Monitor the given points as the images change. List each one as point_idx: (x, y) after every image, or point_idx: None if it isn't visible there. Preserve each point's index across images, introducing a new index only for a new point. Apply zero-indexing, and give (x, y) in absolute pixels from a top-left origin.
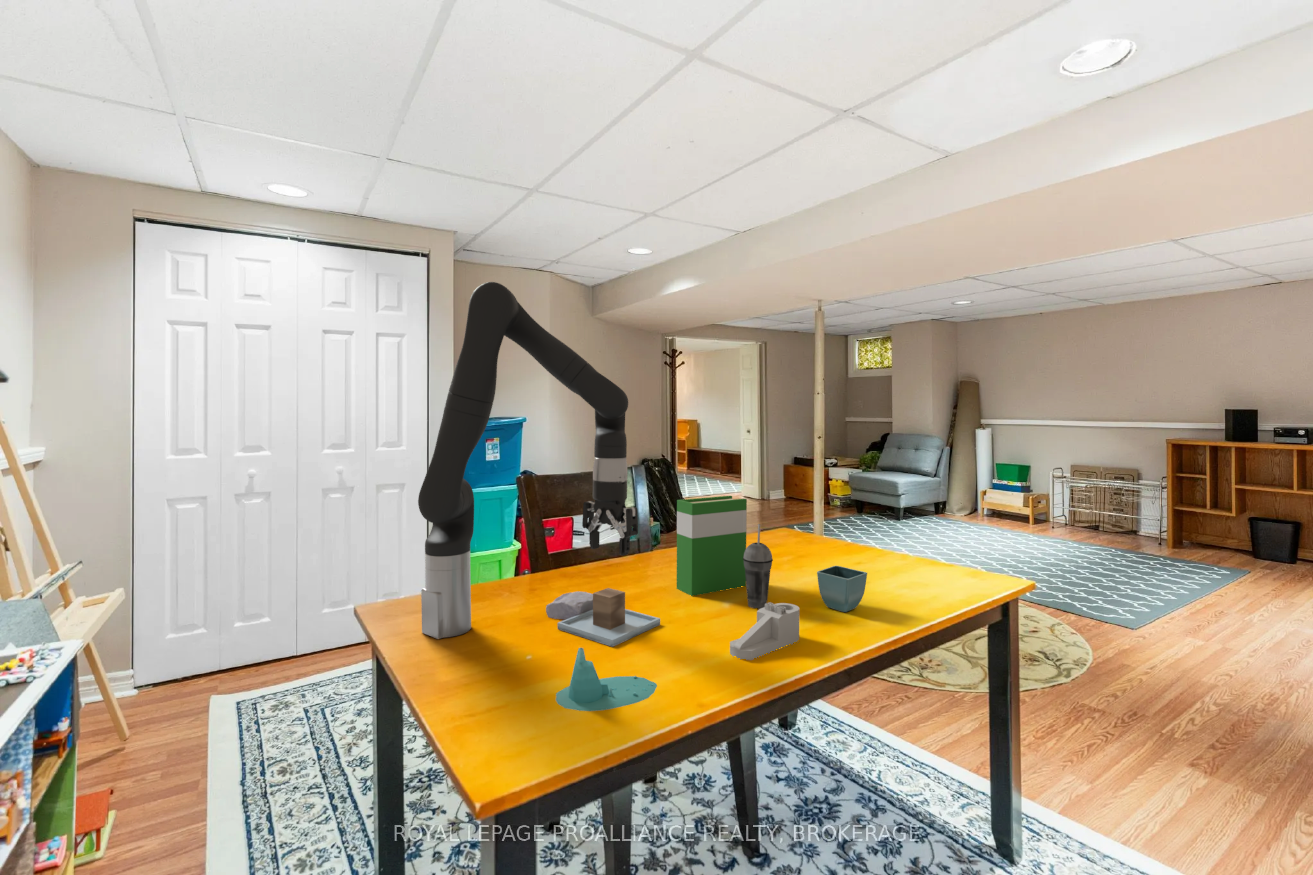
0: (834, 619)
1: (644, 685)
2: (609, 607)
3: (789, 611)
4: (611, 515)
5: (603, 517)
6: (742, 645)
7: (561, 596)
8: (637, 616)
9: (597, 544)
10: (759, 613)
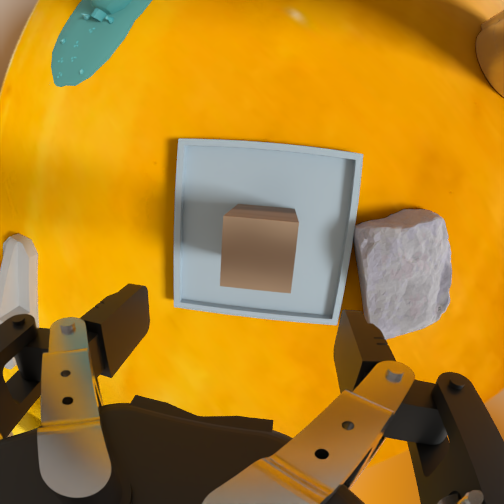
0: (40, 405)
1: (64, 67)
2: (230, 211)
3: None
4: (43, 426)
5: (225, 465)
6: (7, 244)
7: (446, 289)
8: (235, 306)
9: (338, 351)
10: None
